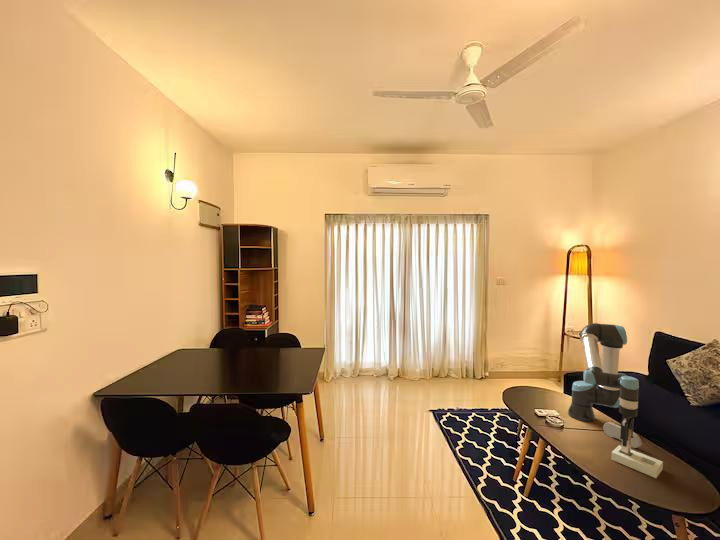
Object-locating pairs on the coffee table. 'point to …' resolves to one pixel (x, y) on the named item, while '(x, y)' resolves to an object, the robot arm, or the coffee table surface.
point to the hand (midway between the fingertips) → (625, 450)
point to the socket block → (638, 462)
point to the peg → (628, 445)
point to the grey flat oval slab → (615, 432)
